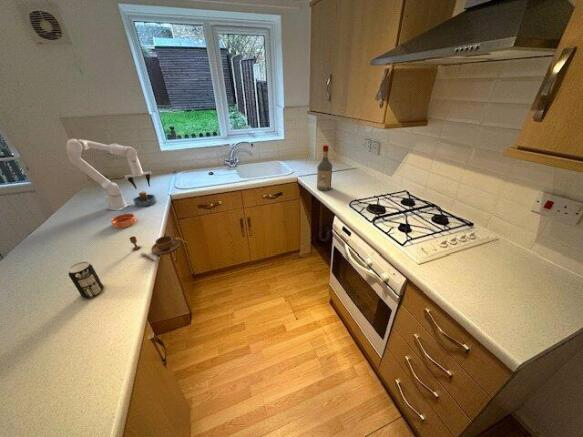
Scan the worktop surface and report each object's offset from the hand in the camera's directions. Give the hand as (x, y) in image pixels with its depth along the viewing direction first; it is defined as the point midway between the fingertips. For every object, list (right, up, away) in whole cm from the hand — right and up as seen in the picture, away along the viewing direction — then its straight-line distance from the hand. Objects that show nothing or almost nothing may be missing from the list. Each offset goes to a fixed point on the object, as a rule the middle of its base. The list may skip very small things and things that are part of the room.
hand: (142, 187), depth 156 cm
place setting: (+36, -34, -43) cm, 66 cm away
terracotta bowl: (+5, -24, -24) cm, 34 cm away
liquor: (+121, +1, +15) cm, 122 cm away
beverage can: (+24, -48, -68) cm, 87 cm away
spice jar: (+2, -10, 0) cm, 11 cm away
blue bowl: (+2, -11, 0) cm, 11 cm away
